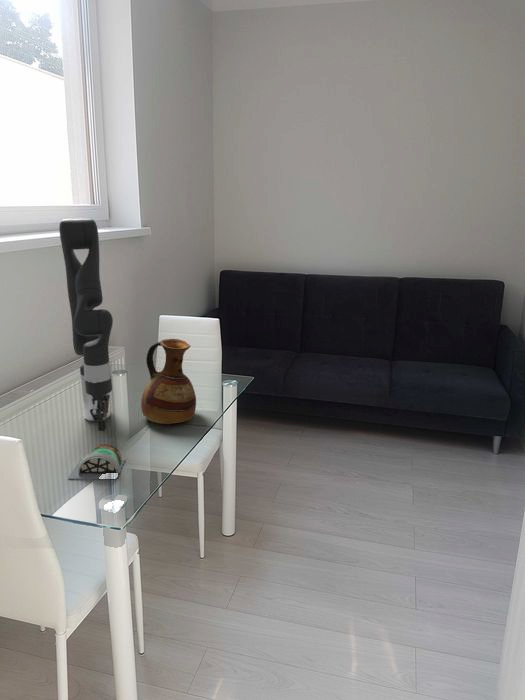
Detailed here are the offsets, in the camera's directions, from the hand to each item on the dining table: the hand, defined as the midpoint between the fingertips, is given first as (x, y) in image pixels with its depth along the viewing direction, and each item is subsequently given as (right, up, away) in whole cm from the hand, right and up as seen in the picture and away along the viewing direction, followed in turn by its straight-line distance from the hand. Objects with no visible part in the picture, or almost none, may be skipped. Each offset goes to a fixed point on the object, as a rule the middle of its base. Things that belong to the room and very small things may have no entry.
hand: (102, 430), depth 160 cm
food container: (0, -7, +4) cm, 8 cm away
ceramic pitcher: (+14, -1, +35) cm, 38 cm away
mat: (-1, -12, -1) cm, 12 cm away
